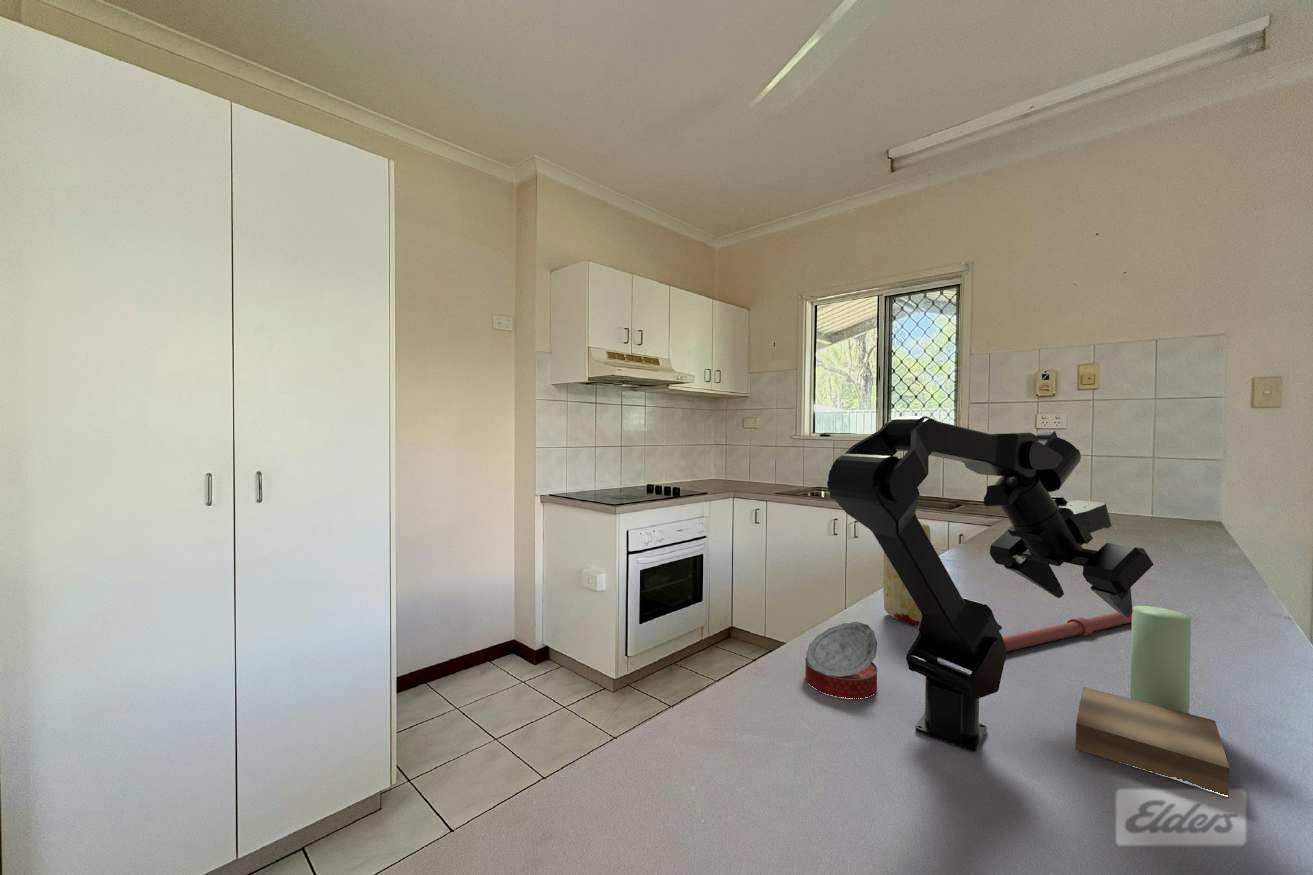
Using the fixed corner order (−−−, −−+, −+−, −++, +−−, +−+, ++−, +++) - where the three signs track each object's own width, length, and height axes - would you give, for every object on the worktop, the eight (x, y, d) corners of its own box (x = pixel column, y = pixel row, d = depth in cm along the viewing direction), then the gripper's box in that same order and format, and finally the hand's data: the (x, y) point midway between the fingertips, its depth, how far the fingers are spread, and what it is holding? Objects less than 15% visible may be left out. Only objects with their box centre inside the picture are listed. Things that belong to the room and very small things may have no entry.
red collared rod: (1121, 621, 104) (1121, 605, 104) (1140, 626, 101) (1141, 610, 101) (966, 656, 86) (966, 637, 86) (985, 664, 84) (985, 644, 84)
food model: (874, 615, 105) (875, 515, 105) (896, 610, 108) (897, 513, 108) (918, 632, 96) (920, 523, 96) (941, 626, 99) (943, 520, 99)
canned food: (876, 729, 73) (892, 682, 68) (801, 712, 75) (812, 666, 70) (867, 661, 82) (881, 616, 77) (801, 648, 84) (810, 603, 79)
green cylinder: (1191, 727, 65) (1192, 623, 65) (1130, 711, 69) (1132, 612, 69) (1187, 710, 69) (1189, 612, 69) (1130, 695, 73) (1131, 602, 73)
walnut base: (1229, 797, 52) (1229, 768, 52) (1075, 748, 60) (1076, 722, 60) (1214, 745, 61) (1214, 720, 61) (1082, 709, 69) (1082, 686, 69)
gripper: (1148, 480, 62) (1213, 584, 64) (1014, 474, 81) (1066, 555, 82) (1086, 538, 60) (1155, 643, 62) (964, 519, 79) (1018, 600, 80)
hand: (1092, 604), depth 71 cm, fingers open, 9 cm apart
